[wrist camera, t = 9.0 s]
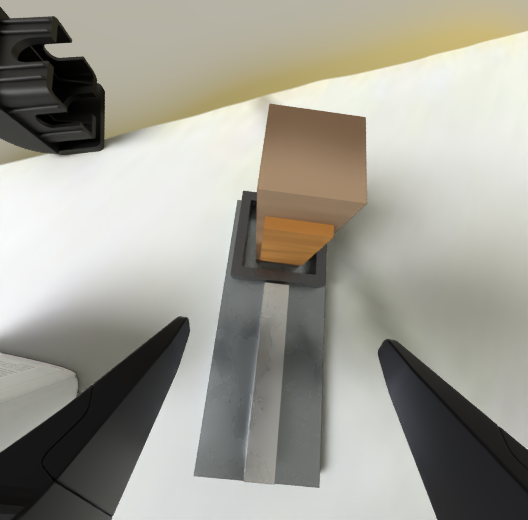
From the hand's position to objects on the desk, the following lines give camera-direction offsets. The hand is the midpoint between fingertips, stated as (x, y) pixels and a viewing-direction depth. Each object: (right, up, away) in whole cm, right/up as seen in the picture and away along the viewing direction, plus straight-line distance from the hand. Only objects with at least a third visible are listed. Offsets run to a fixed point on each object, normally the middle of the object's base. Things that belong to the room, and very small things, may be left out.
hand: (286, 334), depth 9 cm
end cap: (-23, +19, +13) cm, 32 cm away
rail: (0, -2, +9) cm, 9 cm away
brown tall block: (0, +5, +9) cm, 11 cm away
